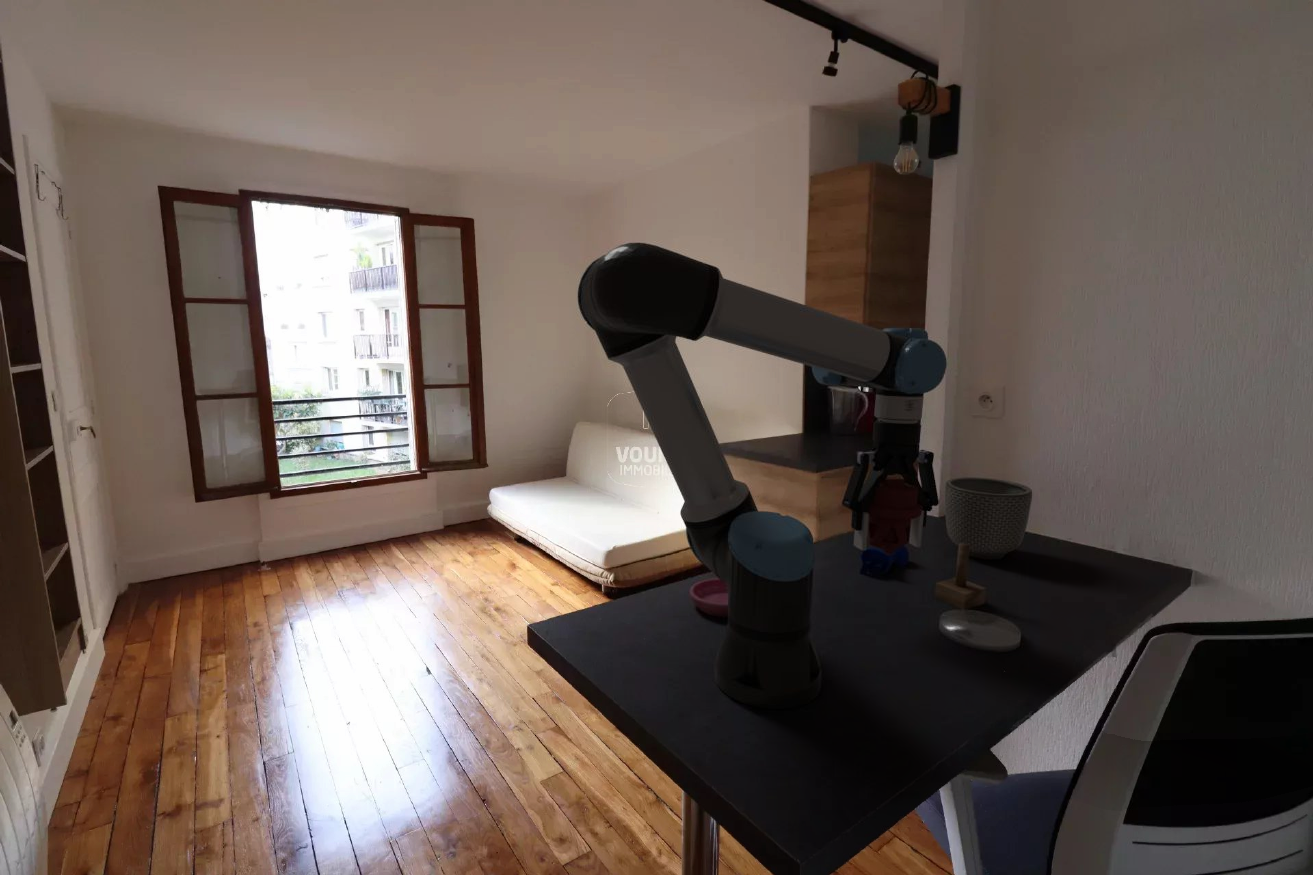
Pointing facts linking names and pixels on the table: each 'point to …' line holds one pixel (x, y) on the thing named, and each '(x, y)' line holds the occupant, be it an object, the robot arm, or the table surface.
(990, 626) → the grey round disc
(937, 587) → the brown wooden peg block
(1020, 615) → the table surface
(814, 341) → the robot arm
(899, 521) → the mechanical component
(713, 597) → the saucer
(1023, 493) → the planter
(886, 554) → the toy
